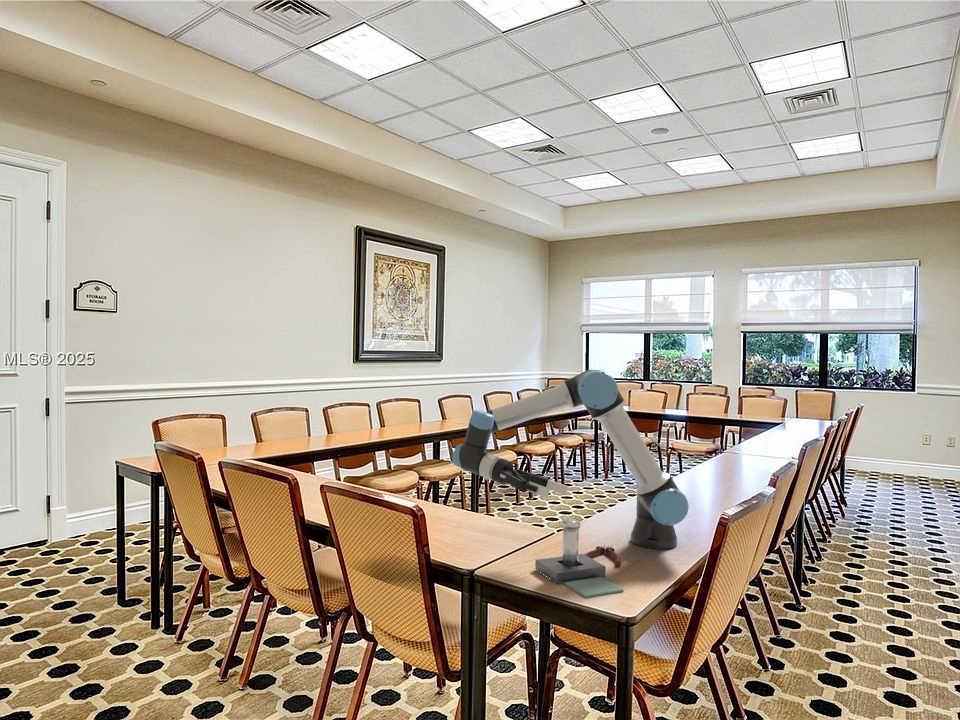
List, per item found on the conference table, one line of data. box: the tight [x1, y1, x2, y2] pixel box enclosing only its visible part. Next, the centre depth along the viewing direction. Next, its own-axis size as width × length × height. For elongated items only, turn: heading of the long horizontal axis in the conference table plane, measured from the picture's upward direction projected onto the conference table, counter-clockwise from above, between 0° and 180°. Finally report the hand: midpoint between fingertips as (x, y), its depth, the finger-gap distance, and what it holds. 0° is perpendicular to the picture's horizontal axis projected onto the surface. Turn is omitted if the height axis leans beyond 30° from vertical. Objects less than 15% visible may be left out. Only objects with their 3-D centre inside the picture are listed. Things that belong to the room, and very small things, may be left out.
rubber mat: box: [564, 577, 624, 599], centre depth 166 cm, size 12×10×1 cm
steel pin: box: [561, 518, 581, 567], centre depth 177 cm, size 5×5×15 cm
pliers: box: [584, 543, 622, 568], centre depth 194 cm, size 12×20×3 cm, turn 163°
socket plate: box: [534, 553, 607, 584], centre depth 177 cm, size 16×12×3 cm
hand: (557, 492), depth 182 cm, fingers open, 13 cm apart
